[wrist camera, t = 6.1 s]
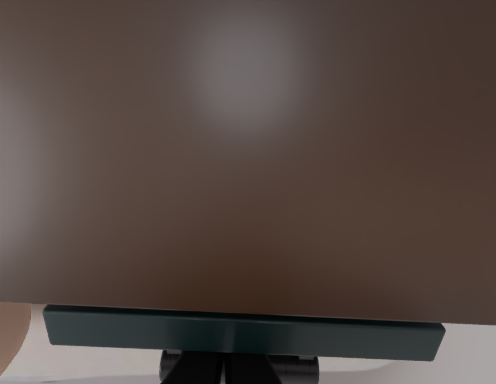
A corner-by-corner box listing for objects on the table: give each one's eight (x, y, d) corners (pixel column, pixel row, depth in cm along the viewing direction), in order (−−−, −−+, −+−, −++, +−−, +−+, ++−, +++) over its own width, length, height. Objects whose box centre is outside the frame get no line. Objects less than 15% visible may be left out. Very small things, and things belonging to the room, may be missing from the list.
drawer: (335, 305, 16) (395, 456, 10) (144, 296, 16) (74, 445, 9) (423, -87, 10) (751, -395, 3) (110, -115, 9) (-167, -512, 3)
